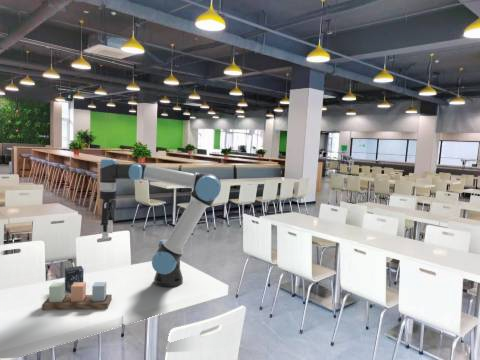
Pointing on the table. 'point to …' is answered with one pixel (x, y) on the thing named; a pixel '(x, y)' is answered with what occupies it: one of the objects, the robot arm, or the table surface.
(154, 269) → the robot arm
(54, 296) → the pale green block
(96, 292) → the slate button
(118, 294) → the table surface
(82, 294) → the orange block
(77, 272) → the box
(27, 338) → the table surface
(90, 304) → the panel
